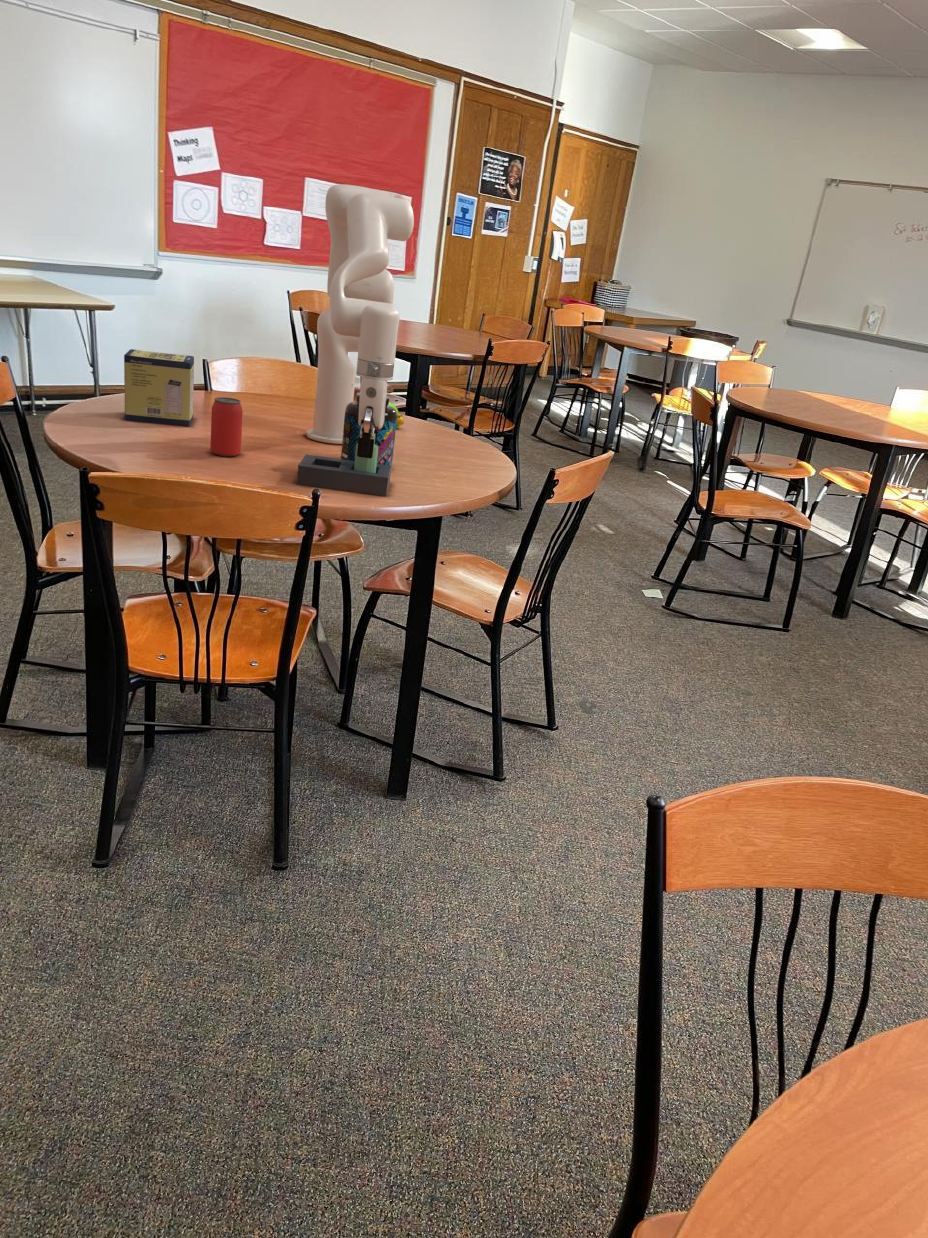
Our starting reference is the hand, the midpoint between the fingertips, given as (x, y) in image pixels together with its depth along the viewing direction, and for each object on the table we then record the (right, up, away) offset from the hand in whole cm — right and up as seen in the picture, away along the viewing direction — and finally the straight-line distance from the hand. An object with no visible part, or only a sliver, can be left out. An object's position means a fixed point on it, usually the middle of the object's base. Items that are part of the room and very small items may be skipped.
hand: (366, 452), depth 189 cm
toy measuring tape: (-5, +21, +67) cm, 70 cm away
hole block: (-5, -6, +3) cm, 9 cm away
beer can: (-33, +2, +12) cm, 35 cm away
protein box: (-55, +14, +33) cm, 66 cm away
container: (-2, +1, +20) cm, 20 cm away
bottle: (-1, -7, +3) cm, 8 cm away
